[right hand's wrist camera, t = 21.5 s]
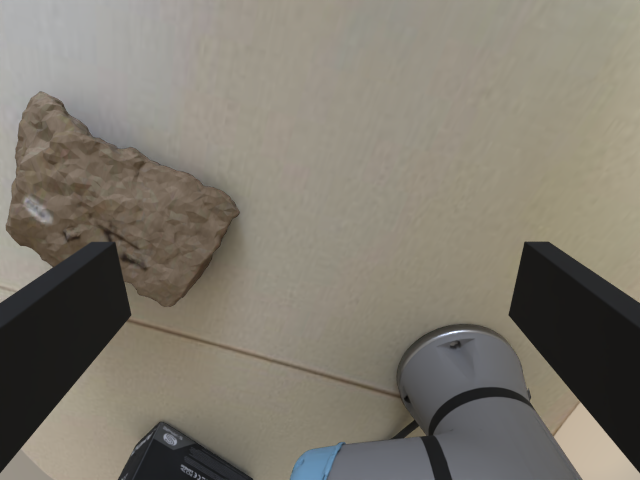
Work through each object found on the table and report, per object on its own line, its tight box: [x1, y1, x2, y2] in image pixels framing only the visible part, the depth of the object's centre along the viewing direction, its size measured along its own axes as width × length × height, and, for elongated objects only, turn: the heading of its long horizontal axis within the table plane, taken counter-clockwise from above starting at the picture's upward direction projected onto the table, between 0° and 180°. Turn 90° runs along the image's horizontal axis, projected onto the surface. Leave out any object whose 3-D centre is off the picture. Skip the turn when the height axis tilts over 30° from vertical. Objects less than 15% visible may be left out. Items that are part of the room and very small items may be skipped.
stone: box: [6, 92, 240, 307], centre depth 38 cm, size 21×15×6 cm
